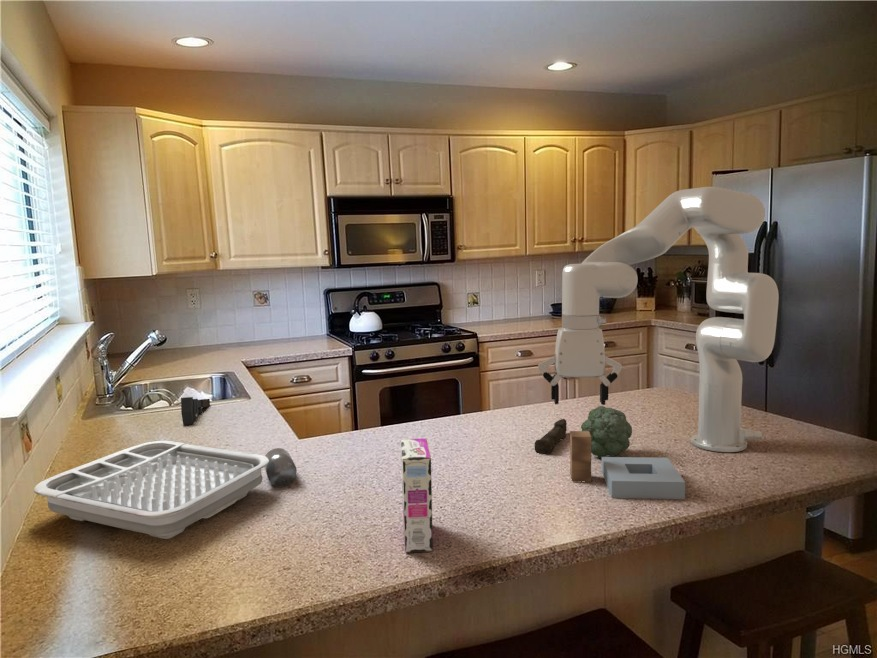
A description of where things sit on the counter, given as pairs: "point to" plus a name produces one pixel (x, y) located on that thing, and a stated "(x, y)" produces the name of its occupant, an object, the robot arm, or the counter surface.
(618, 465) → the socket block
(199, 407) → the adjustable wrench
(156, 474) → the dish rack
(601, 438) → the vegetable
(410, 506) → the candy bar box
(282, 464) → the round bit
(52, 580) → the counter surface
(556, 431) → the charcoal colored rounded log
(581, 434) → the square bit
